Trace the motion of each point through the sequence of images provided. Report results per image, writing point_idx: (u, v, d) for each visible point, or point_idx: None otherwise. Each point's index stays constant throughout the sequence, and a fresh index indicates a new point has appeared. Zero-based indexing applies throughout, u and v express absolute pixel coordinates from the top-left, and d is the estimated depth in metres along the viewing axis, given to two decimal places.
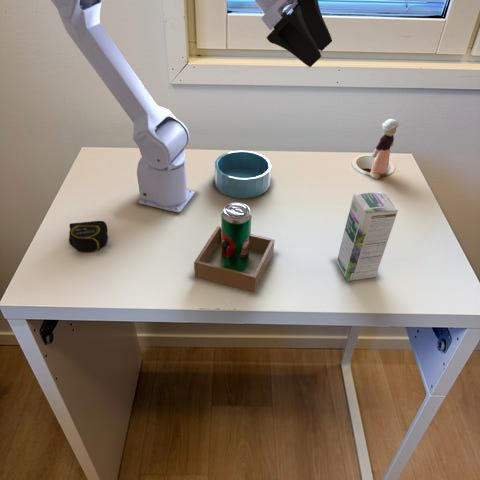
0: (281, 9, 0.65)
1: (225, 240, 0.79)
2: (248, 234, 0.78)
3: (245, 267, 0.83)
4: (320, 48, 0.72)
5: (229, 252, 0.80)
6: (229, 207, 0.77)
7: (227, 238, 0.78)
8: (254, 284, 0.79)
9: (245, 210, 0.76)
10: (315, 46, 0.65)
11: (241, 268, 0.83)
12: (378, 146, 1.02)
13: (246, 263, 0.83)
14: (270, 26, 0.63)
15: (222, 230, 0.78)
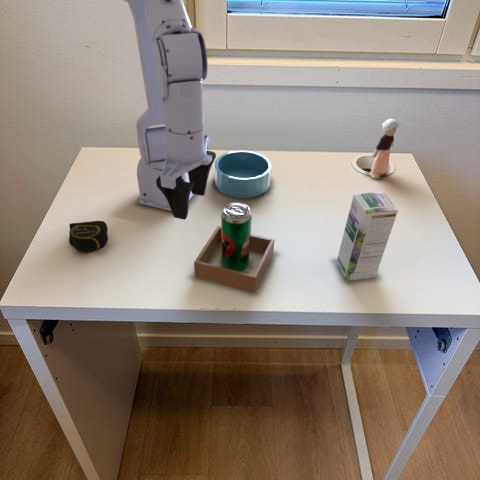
0: None
1: (225, 240, 0.79)
2: (248, 234, 0.78)
3: (245, 267, 0.83)
4: (192, 191, 0.81)
5: (229, 252, 0.80)
6: (229, 207, 0.77)
7: (227, 238, 0.78)
8: (254, 284, 0.79)
9: (245, 210, 0.76)
10: (186, 211, 0.75)
11: (241, 268, 0.83)
12: (378, 146, 1.02)
13: (246, 263, 0.83)
14: (163, 185, 0.69)
15: (222, 230, 0.78)
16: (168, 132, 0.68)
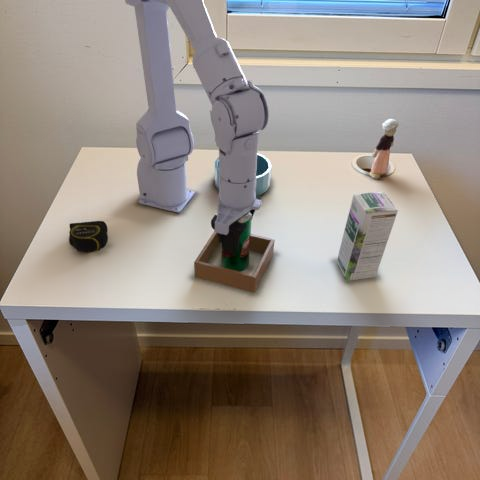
0: (232, 214, 0.73)
1: None
2: (248, 234, 0.78)
3: (245, 267, 0.83)
4: None
5: None
6: None
7: None
8: (254, 284, 0.79)
9: None
10: (237, 248, 0.78)
11: (241, 268, 0.83)
12: (378, 146, 1.02)
13: (246, 263, 0.83)
14: (217, 231, 0.71)
15: None
16: (222, 180, 0.70)
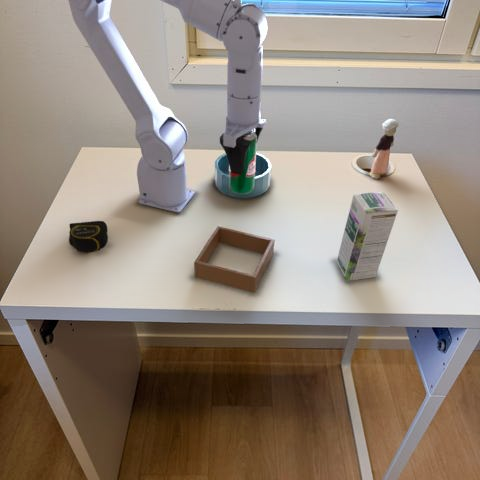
0: None
1: None
2: (253, 154, 0.86)
3: (251, 188, 0.91)
4: None
5: None
6: None
7: None
8: (254, 284, 0.79)
9: (251, 130, 0.84)
10: (243, 167, 0.86)
11: (247, 189, 0.90)
12: (378, 146, 1.02)
13: (251, 185, 0.90)
14: (225, 144, 0.79)
15: None
16: (230, 97, 0.78)
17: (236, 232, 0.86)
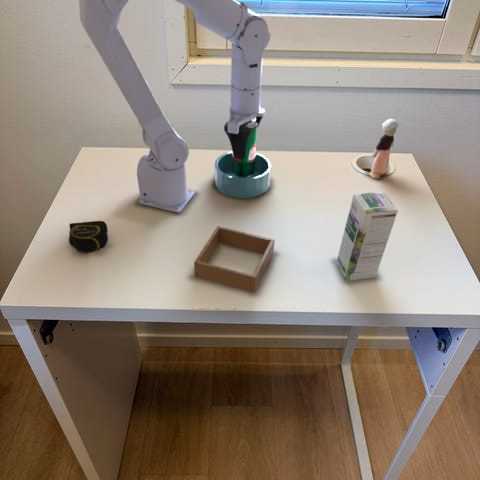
0: None
1: None
2: (254, 140, 0.95)
3: (251, 172, 1.00)
4: None
5: None
6: None
7: None
8: (254, 284, 0.79)
9: (252, 119, 0.94)
10: (245, 152, 0.95)
11: (248, 173, 1.00)
12: (378, 146, 1.02)
13: (252, 169, 1.00)
14: (229, 130, 0.89)
15: None
16: (234, 89, 0.88)
17: (236, 232, 0.86)
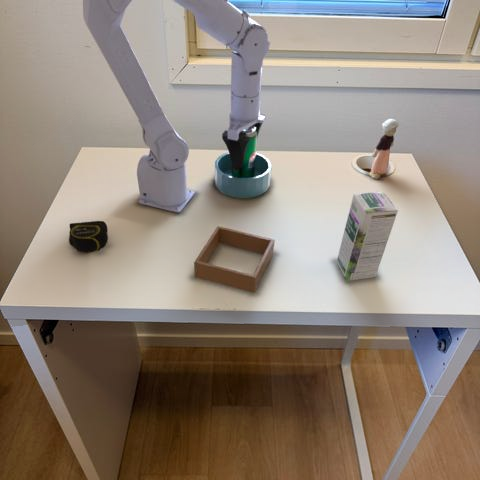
0: None
1: None
2: (254, 149, 0.97)
3: None
4: None
5: None
6: None
7: None
8: (254, 284, 0.79)
9: (252, 128, 0.95)
10: (243, 160, 0.96)
11: None
12: (378, 146, 1.02)
13: None
14: (229, 137, 0.90)
15: None
16: (234, 96, 0.89)
17: (236, 232, 0.86)
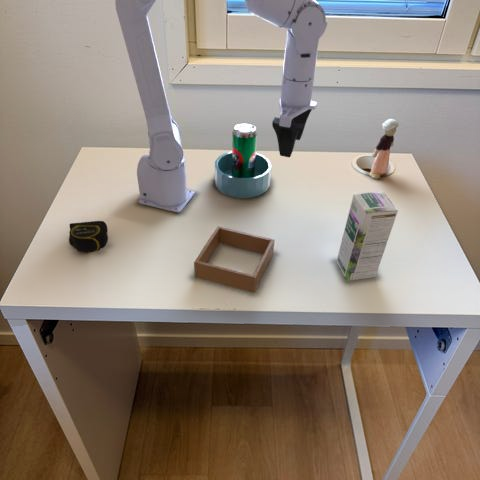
0: None
1: (235, 155, 0.97)
2: (254, 149, 0.97)
3: None
4: None
5: (238, 165, 0.99)
6: (239, 126, 0.95)
7: (237, 152, 0.97)
8: (254, 284, 0.79)
9: (252, 128, 0.95)
10: (292, 150, 0.90)
11: None
12: (378, 146, 1.02)
13: None
14: (281, 124, 0.84)
15: (233, 146, 0.97)
16: (286, 80, 0.83)
17: (236, 232, 0.86)
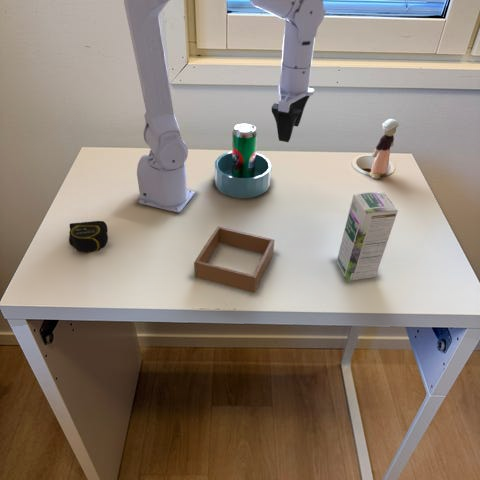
0: None
1: (235, 155, 0.97)
2: (254, 149, 0.97)
3: None
4: None
5: (238, 165, 0.99)
6: (239, 126, 0.95)
7: (237, 152, 0.97)
8: (254, 284, 0.79)
9: (252, 128, 0.95)
10: (290, 135, 0.95)
11: None
12: (378, 146, 1.02)
13: None
14: (280, 109, 0.89)
15: (233, 146, 0.97)
16: (285, 67, 0.88)
17: (236, 232, 0.86)
